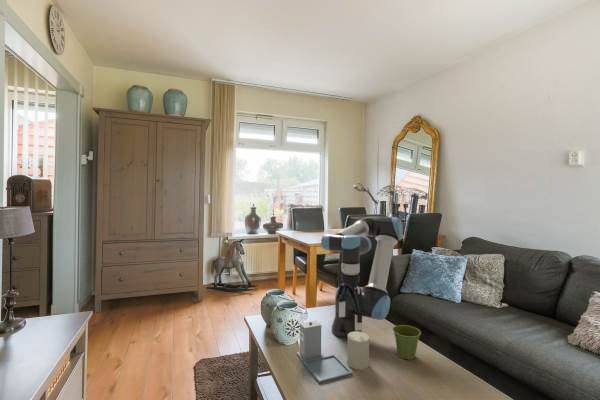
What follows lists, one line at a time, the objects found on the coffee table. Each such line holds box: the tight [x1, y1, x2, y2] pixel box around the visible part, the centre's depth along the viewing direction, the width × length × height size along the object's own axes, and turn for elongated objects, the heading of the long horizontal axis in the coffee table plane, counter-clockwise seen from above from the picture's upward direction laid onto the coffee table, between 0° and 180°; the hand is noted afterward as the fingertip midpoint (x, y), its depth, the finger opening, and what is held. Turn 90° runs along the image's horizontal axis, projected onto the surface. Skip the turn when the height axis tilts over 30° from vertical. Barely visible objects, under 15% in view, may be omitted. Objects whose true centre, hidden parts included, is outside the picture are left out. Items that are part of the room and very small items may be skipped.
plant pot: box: [392, 324, 422, 361], centre depth 138 cm, size 12×12×11 cm
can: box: [346, 331, 370, 370], centre depth 132 cm, size 9×9×12 cm
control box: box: [296, 320, 325, 363], centre depth 137 cm, size 10×7×15 cm
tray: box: [303, 353, 354, 384], centre depth 127 cm, size 15×15×1 cm
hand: (349, 323), depth 131 cm, fingers open, 13 cm apart
